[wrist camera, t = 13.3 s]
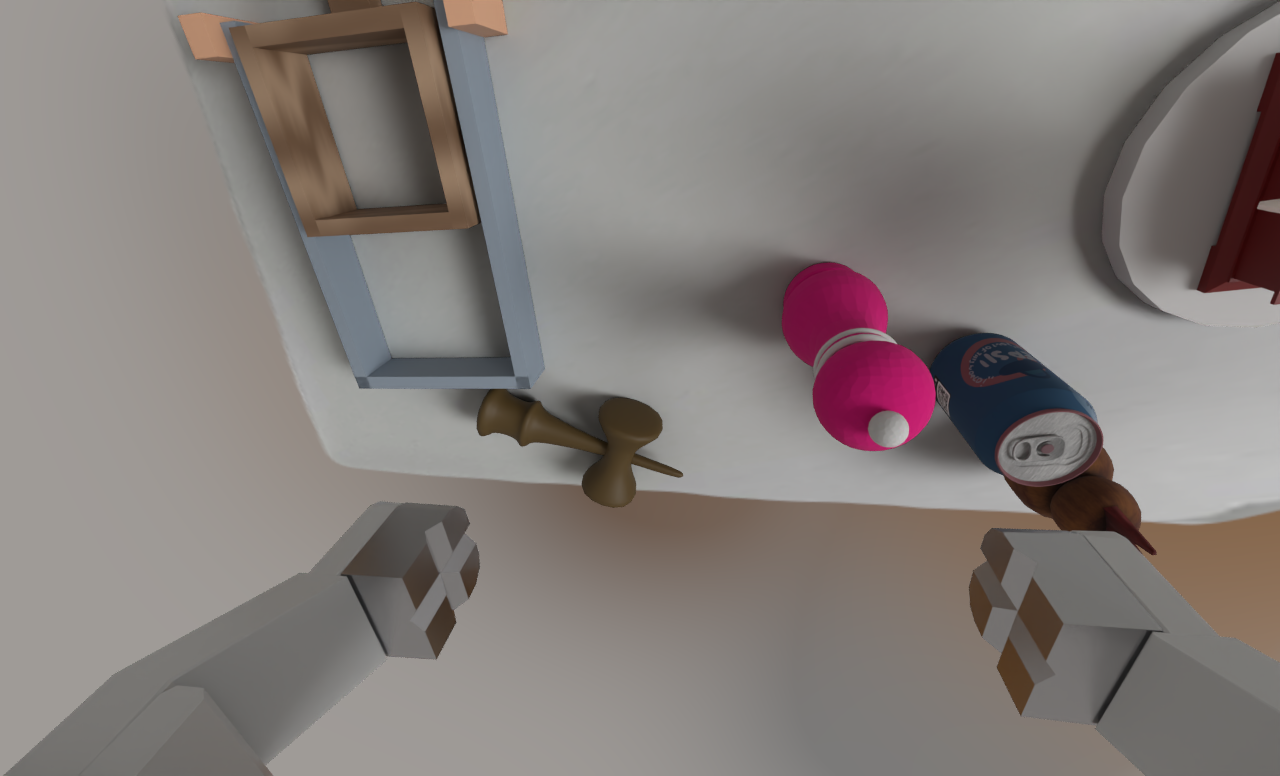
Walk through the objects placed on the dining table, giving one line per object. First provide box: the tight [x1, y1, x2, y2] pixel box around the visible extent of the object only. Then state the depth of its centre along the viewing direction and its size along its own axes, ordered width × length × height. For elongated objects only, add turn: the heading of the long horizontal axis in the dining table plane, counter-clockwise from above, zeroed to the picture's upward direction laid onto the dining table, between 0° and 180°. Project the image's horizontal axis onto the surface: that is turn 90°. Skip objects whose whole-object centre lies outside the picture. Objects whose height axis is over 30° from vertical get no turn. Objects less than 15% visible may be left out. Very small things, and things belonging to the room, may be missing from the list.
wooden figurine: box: [1003, 447, 1156, 555], centre depth 38 cm, size 7×6×15 cm
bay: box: [178, 0, 545, 389], centre depth 41 cm, size 28×20×5 cm
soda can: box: [930, 333, 1103, 487], centre depth 37 cm, size 7×7×12 cm
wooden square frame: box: [229, 0, 481, 237], centre depth 35 cm, size 19×13×7 cm
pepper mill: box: [782, 263, 936, 451], centre depth 32 cm, size 7×7×20 cm
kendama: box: [477, 389, 683, 508], centre depth 48 cm, size 6×10×20 cm
